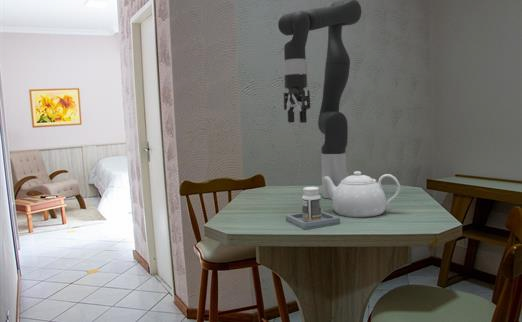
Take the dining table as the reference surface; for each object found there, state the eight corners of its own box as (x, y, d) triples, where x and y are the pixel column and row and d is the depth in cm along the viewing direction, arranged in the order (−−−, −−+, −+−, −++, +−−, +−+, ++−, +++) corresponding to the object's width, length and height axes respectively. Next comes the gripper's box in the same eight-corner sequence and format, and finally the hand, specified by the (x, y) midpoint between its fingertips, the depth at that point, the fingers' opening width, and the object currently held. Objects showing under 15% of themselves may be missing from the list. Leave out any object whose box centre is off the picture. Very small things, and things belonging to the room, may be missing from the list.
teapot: (356, 222, 127) (355, 177, 126) (320, 211, 144) (319, 171, 142) (402, 213, 136) (401, 171, 134) (363, 203, 152) (362, 166, 151)
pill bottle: (321, 217, 132) (321, 186, 131) (321, 222, 126) (320, 189, 125) (303, 217, 133) (302, 186, 132) (301, 222, 127) (300, 189, 126)
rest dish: (318, 215, 137) (318, 210, 137) (340, 223, 126) (339, 217, 126) (285, 220, 132) (285, 215, 132) (304, 229, 121) (304, 223, 121)
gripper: (276, 76, 147) (277, 123, 149) (295, 71, 134) (297, 123, 136) (295, 76, 150) (296, 122, 151) (316, 71, 137) (317, 122, 138)
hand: (297, 122), depth 143 cm, fingers open, 8 cm apart
